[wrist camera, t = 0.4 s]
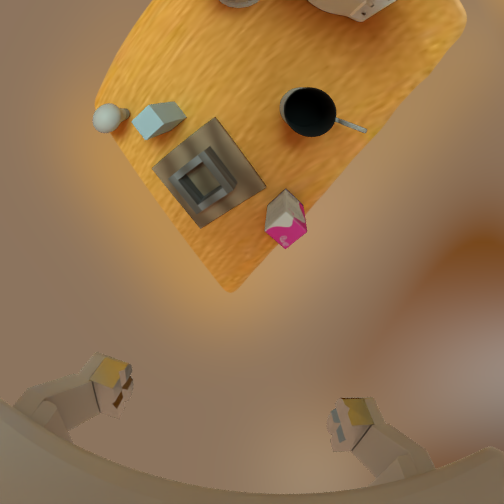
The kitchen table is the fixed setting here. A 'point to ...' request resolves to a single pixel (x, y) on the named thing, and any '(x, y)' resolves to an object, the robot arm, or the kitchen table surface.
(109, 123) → the lightbulb
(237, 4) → the french press
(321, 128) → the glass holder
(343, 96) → the kitchen table surface
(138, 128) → the peg
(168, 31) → the kitchen table surface
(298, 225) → the supplement box
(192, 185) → the socket
